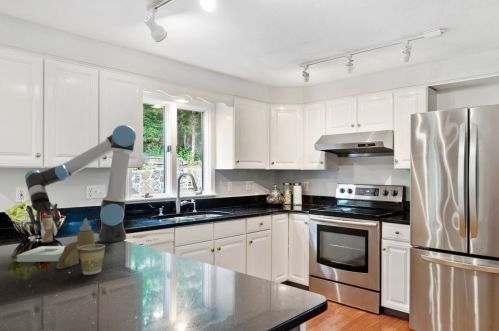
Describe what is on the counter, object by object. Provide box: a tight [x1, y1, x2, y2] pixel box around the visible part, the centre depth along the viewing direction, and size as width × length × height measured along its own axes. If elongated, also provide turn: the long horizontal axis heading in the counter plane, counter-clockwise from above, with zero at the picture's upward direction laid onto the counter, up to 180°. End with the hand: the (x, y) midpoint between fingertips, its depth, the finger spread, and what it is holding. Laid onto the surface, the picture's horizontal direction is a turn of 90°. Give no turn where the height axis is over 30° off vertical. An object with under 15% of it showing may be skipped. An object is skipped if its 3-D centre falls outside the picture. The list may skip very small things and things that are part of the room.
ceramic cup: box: [77, 243, 106, 276], centre depth 143 cm, size 13×10×10 cm
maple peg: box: [41, 214, 54, 243], centre depth 169 cm, size 4×4×12 cm
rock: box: [55, 241, 80, 270], centre depth 152 cm, size 11×9×10 cm
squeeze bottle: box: [76, 217, 96, 256], centre depth 165 cm, size 8×8×18 cm
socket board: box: [16, 245, 66, 263], centre depth 169 cm, size 18×18×3 cm
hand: (49, 234), depth 166 cm, fingers closed on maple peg, 4 cm apart
